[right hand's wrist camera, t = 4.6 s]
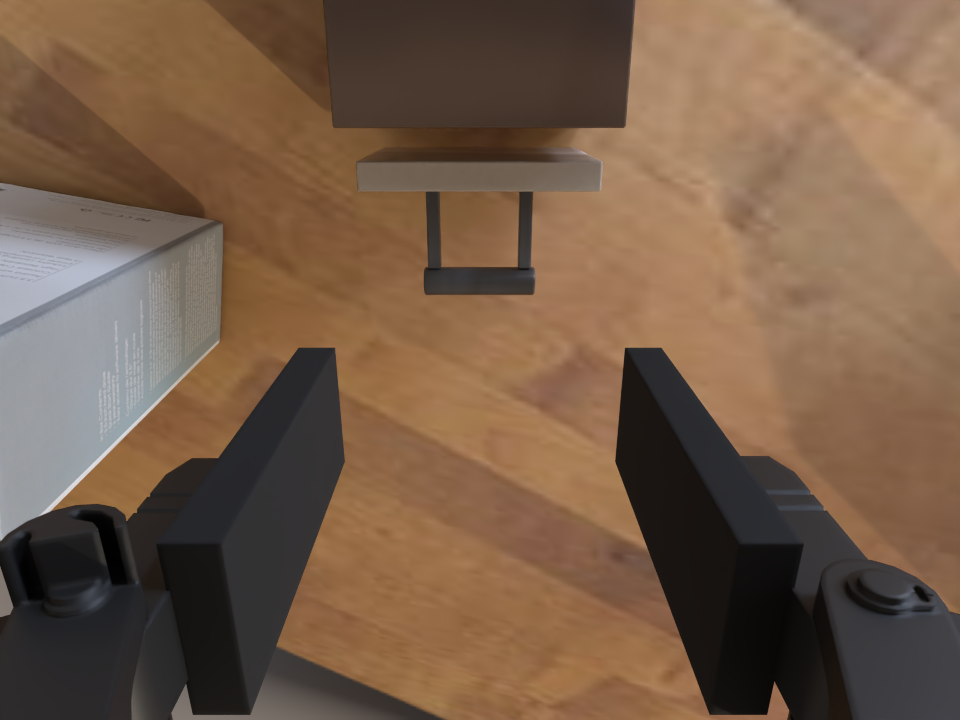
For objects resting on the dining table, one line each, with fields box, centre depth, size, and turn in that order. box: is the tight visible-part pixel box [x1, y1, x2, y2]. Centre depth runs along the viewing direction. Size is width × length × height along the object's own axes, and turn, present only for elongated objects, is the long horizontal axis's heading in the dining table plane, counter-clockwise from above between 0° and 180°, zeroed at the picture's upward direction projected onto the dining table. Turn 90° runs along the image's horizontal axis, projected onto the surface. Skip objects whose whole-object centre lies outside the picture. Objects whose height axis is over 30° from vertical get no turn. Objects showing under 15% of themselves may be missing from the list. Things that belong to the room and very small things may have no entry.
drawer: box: [356, 148, 603, 295], centre depth 28 cm, size 24×10×8 cm, turn 0°
